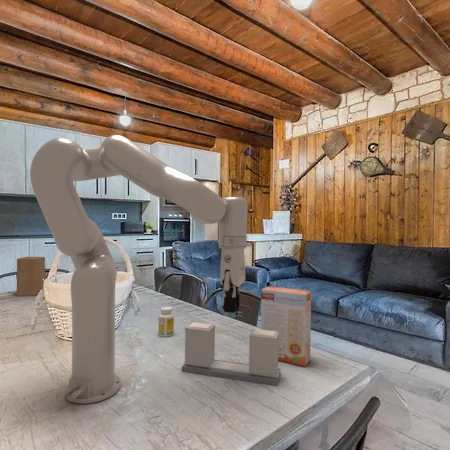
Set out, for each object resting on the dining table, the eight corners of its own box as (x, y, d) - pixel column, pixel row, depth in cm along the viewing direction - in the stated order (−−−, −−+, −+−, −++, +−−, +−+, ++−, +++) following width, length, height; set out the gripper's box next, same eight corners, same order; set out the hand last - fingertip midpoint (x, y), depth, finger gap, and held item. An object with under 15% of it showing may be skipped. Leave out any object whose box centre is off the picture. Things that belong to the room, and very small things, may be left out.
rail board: (277, 385, 79) (278, 338, 79) (181, 371, 86) (182, 327, 86) (280, 373, 86) (280, 329, 86) (191, 360, 93) (191, 320, 93)
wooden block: (16, 296, 166) (16, 258, 166) (26, 292, 176) (26, 256, 176) (36, 296, 167) (36, 258, 167) (45, 292, 177) (45, 256, 177)
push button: (246, 315, 86) (247, 279, 86) (236, 320, 81) (236, 282, 81) (226, 311, 89) (227, 276, 89) (215, 316, 85) (216, 279, 85)
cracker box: (310, 360, 94) (312, 290, 94) (305, 367, 89) (306, 294, 89) (267, 349, 101) (268, 285, 101) (259, 356, 96) (260, 288, 96)
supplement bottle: (157, 337, 111) (157, 310, 110) (159, 332, 116) (159, 306, 116) (173, 337, 111) (173, 310, 111) (174, 331, 116) (174, 306, 116)
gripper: (239, 245, 76) (238, 320, 77) (251, 241, 92) (251, 303, 93) (210, 244, 78) (209, 317, 79) (227, 240, 94) (226, 301, 95)
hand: (231, 309), depth 86 cm, fingers closed on push button, 3 cm apart
